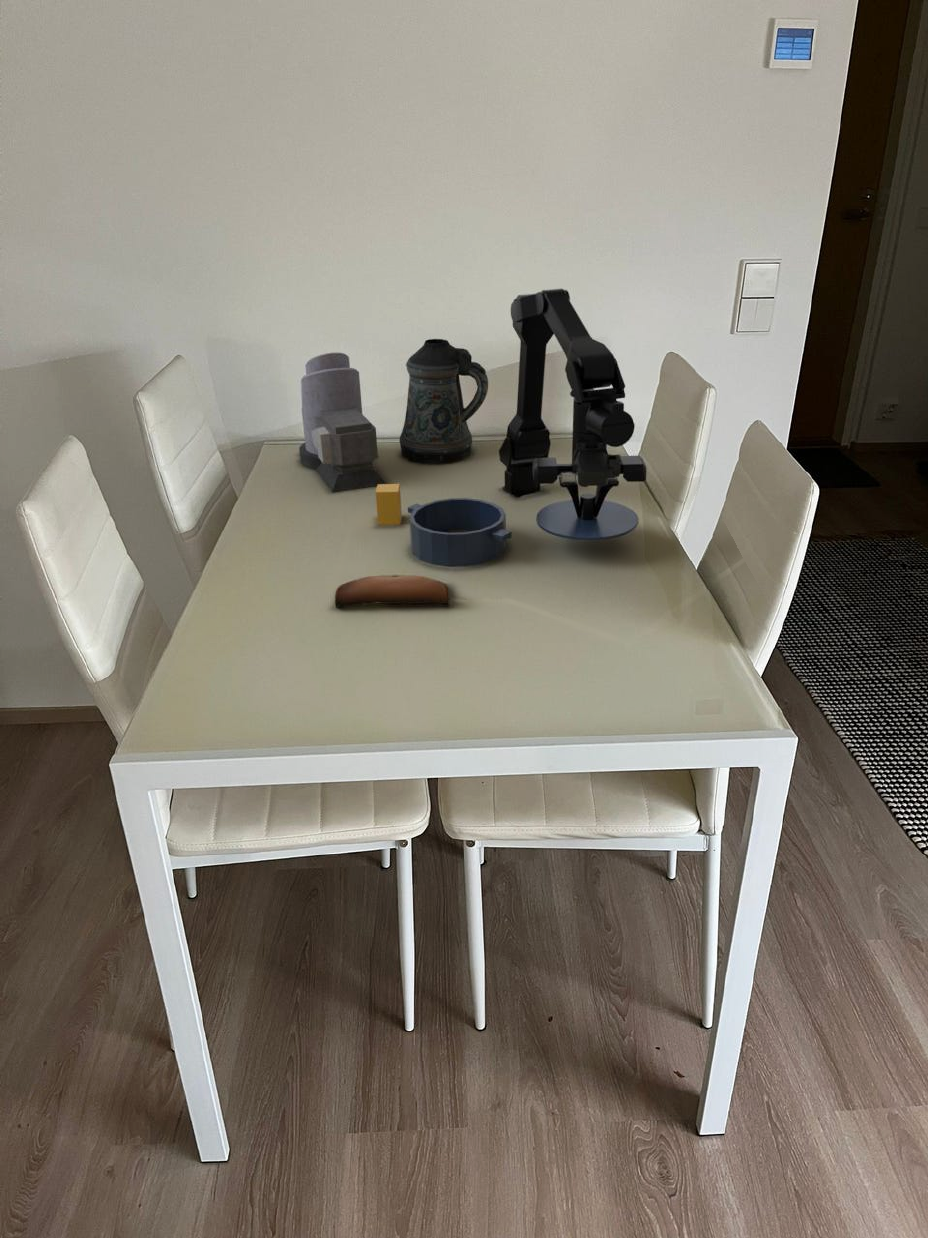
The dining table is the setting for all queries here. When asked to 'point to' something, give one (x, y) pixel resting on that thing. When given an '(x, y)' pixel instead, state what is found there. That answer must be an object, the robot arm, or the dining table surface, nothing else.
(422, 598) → the sunglasses case
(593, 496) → the lid
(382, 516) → the block
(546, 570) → the dining table surface
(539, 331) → the robot arm
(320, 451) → the juicer
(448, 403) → the beer stein
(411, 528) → the pot
